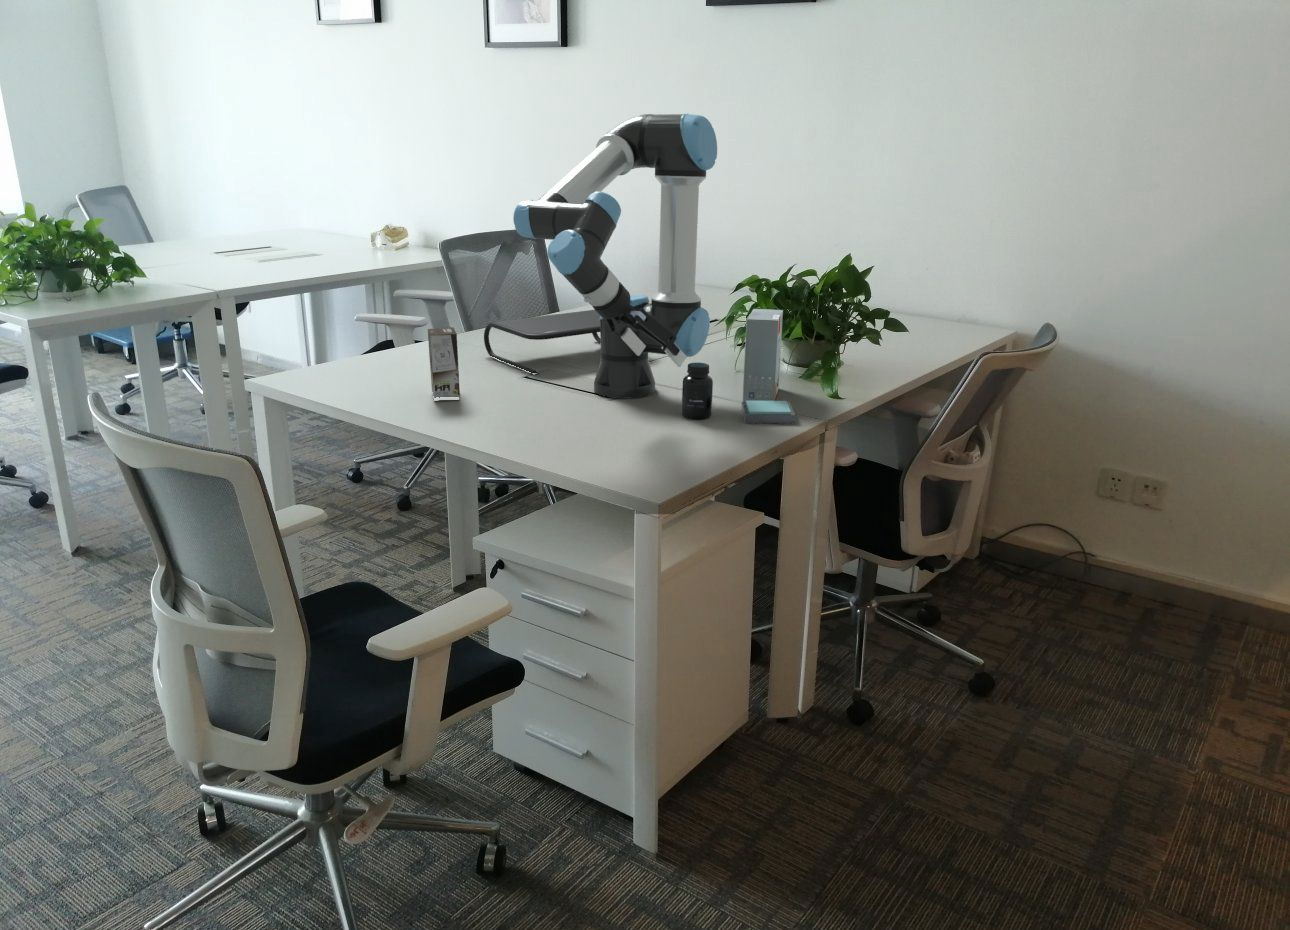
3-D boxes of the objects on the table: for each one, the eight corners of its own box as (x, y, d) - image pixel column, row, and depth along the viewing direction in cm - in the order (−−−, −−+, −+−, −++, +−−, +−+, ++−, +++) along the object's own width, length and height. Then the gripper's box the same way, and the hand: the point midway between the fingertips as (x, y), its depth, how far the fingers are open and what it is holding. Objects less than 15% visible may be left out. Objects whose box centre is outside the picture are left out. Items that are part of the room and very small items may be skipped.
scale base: (745, 423, 227) (745, 414, 227) (741, 409, 238) (741, 401, 237) (795, 423, 227) (795, 415, 227) (788, 410, 238) (789, 401, 237)
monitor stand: (533, 376, 269) (532, 336, 265) (483, 357, 290) (481, 319, 287) (648, 358, 289) (648, 320, 286) (593, 341, 310) (593, 305, 307)
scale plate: (749, 416, 228) (749, 411, 227) (745, 405, 237) (745, 400, 236) (790, 416, 228) (791, 411, 227) (785, 405, 236) (786, 400, 236)
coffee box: (461, 400, 245) (457, 333, 240) (433, 402, 243) (429, 335, 238) (458, 391, 253) (454, 326, 248) (431, 392, 252) (427, 327, 247)
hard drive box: (774, 404, 242) (778, 320, 236) (742, 402, 244) (744, 319, 237) (779, 388, 257) (783, 308, 250) (749, 386, 258) (751, 307, 252)
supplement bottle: (691, 422, 228) (692, 369, 224) (676, 414, 234) (677, 363, 230) (717, 418, 231) (719, 366, 227) (702, 410, 237) (703, 359, 233)
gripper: (559, 299, 216) (616, 359, 230) (633, 317, 197) (690, 381, 211) (579, 272, 217) (634, 333, 231) (655, 286, 199) (710, 352, 213)
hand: (661, 356), depth 221 cm, fingers open, 13 cm apart
